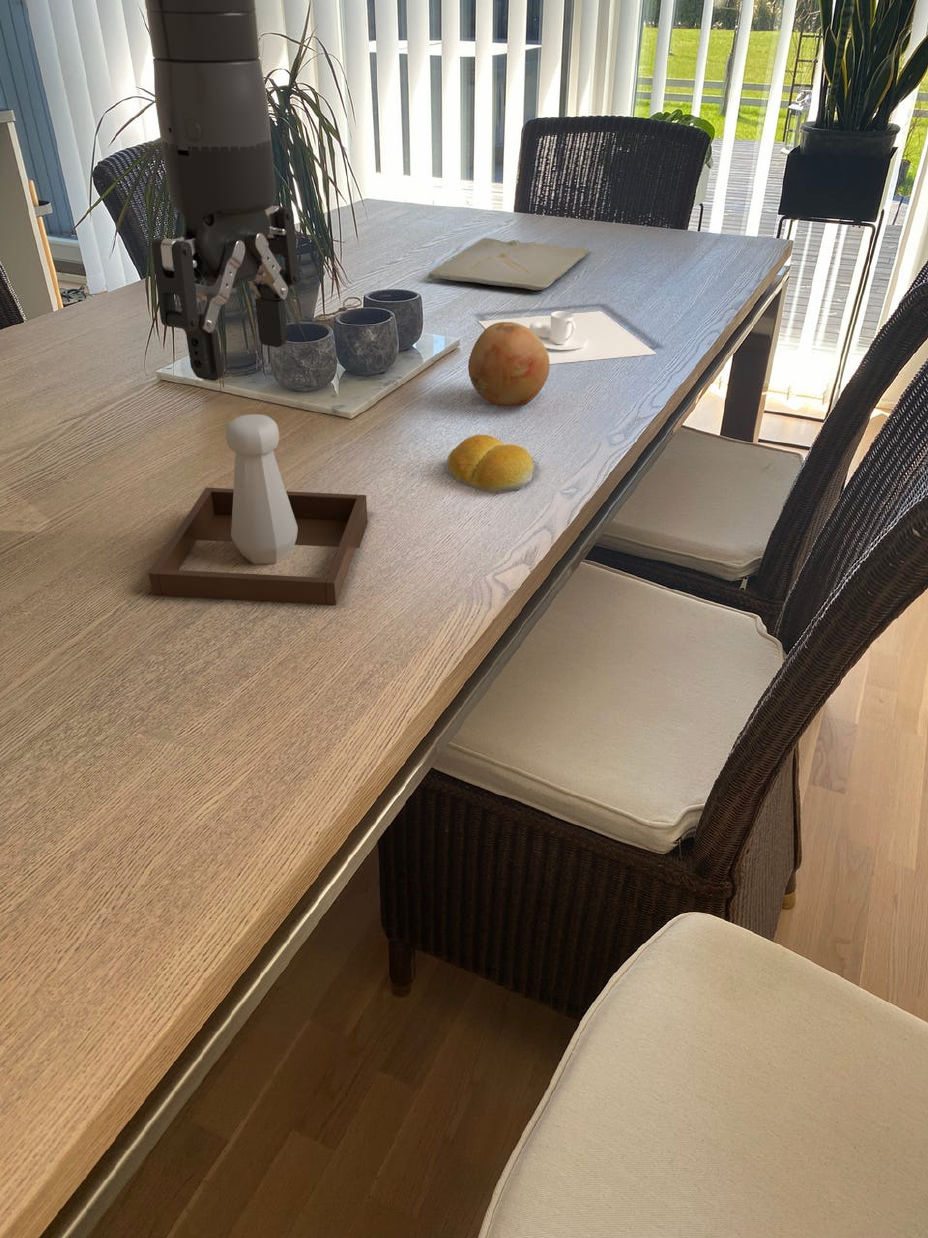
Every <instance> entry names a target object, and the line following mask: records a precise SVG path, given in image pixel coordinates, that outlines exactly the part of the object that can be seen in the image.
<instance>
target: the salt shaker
mask: <svg viewBox="0 0 928 1238" xmlns="http://www.w3.org/2000/svg"><path fill="white" fill-rule="evenodd" d="M278 427H279V426H278V423H276V421H275V420H274V419H272V418H271V417H270V416H268V415H264V414H256V413H250V414H244V415H240V416H237V417H235V418H233V419H232V420H230V421H229V423H228V424H227V426H226V428H225V440H226V444H227V446H228V447H229V449H230V450H231V451H232V453H233V452H234V453H235V456H234V457H235V458H234V459H235V460H234V474H233V475H234V476H233V489H234V492H233V509H232V527H231V537H232V540H233V542H232V543H233V544H234V545H235V546H236V548H237V550H238V551H239V552H240V554H241V555H242V556H243V557H244V558H245V559H247V560H248V562H251V563H252V564H254V565H273V564H275V565H276V564H279V563H280V562H282V561H283V560H285V559H287V558H288V557H290V556H291V555H292V554H293V550H294V548H295V546H296V545H295V542H296V538H297V530H298V527H297V523H296V520H295V517H294V514H293V511H292V508H291V505H290V502H289V499H288V496H287V493H286V491H287V490H286V487H285V483H284V481H283V478H282V474H281V471H280V467H279V466H278V463H277V460H276V459H277V458H276V456H275V453H274V449H276V448H278V446H279V440H280V431H279V428H278Z"/></svg>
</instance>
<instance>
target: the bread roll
mask: <svg viewBox="0 0 928 1238" xmlns="http://www.w3.org/2000/svg"><path fill="white" fill-rule="evenodd" d="M447 467H448V472H449V473H450V475H451V476H452V477H453V478H454V480H456V481H457V482H459V483H461V484H463V485H465V486H469V487H473V488H475V489H476V490H477V491H480V492H483V493H487V494H500V493H506V492H507V493H508V492H512V491H516V490H520V489H523V488H524V487H526V486H527V485H528V484H529V483H530V482H531V480H532V478H533V472H534V469H535V464H534V459H533V458H532V455H531V454H530V452H528V451H527V449H525V448H524V447H522V446H520V445H516V444H505V443H504V442H503V441H501V440H500V439H499V438H496V437H494V436H492V435H489V434H475V435H472V436H470V437H467V438H465V439H464V440H462V441H461V442H460V443H459V444H458V445H456V447H454V448H453V449H452V450H451V452H449V454H448V456H447Z"/></svg>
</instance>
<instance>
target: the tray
mask: <svg viewBox="0 0 928 1238" xmlns="http://www.w3.org/2000/svg"><path fill="white" fill-rule="evenodd" d="M233 492H234V488H226V487H225V488H222V487H205V488H204V490H203V491H202V492H201V494H200V496H199V497H198V498H197V499H196V501H195V503H194V504H193V506H192V507H191V509H190V511H189V512H188V513H187V515H186V516H185V518H184V520H183V521H182V523H181V524H180V526H179V527H178V529H177V530H176V531H175V532H174V535H173V536H172V537H171V539H170V541H168V543H167V545H166V546H165V547H164V549H163V551H162V553H161V554H160V555H159V556H158V558H157V560H156V561H155V562H154V564H153V566H152V567H151V569H150V570H149V572H148V578H149V583H150V588H151V593H152V596H153V597H170V598H171V597H172V598H190V599H208V600H209V599H210V600H226V601H227V600H228V601H245V602H262V603H263V602H264V603H266V602H267V603H282V604H283V603H284V604H300V605H301V604H302V605H320V606H321V605H322V606H337V605H338V602H339V599H340V596H341V593H342V590H343V587H344V585H345V582H346V579H347V576H348V573H349V570H350V567H351V564H352V562H353V558H354V556H355V552H356V550H357V549H360V547H361V544H362V542H363V539H364V535H365V532H366V529H367V527H368V524H369V519H368V505H367V504H368V503H367V495H366V494H351V493H332V492H313V491H311V492H310V491H291V490H290V491H287V490H286V493H287V496H288V499H289V502H290V505H291V508H292V511H293V514H294V517H295V520H296V523H297V527H298V530H297V538H296V542H295V545H294V546H309V547H327V548H328V547H329V548H337V550H336V552H335V555H334V558H333V560H332V564H331V566H330V569H329V571H328V574H327V577H318V576H317V577H316V576H300V575H281V574H280V575H279V574H263V573H262V574H261V573H260V574H259V573H245V572H244V573H241V572H222V571H205V570H204V571H202V570H183V569H180V568H181V566H182V565H183V563H184V562H185V560H186V559H187V557H188V555H189V554H190V552H191V551H192V548H193V547H194V546H195V544H196V543H197V541H208V542H227V543H229V542H230V543H234V542H233V540H232V537H231V527H232V509H233Z"/></svg>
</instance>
